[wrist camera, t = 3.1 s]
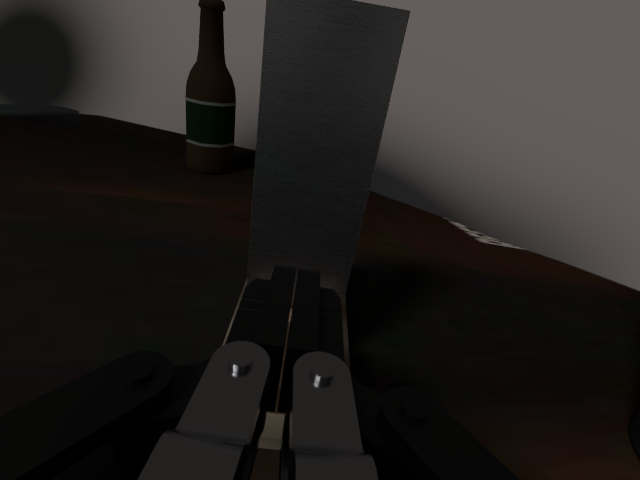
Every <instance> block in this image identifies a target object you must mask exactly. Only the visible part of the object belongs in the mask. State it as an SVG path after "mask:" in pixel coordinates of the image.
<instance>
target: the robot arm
mask: <svg viewBox="0 0 640 480" xmlns="http://www.w3.org/2000/svg"><path fill="white" fill-rule="evenodd" d="M296 269H297V268H290V267H283V266H276V265H275V266H274V269H273V273H272V277H271V280H266V279H259V278H255V279H254V280H253V281H252V282H251V283H249V284H248V285H247V286H246V287H245V290H244V293H243V296H242V300H241V301H240V304H239V308H238V310H237V312H236V315H235V318H234V321H233V323H232V326H231V329H230V332H229V335H228V337H227V340H226V343H225V345H223V346H221V347H220V348H219V349H217V350H216V352H215V353H214V354H213V356H212V357H211V358H210V359H209V360H206V361H204V362H201V363H197V364H192V365H184V366H176V367H173V365H172V363H171V361H170V360H169V359H168V358H167V357H166V356H165V355H163V354H161V353H158V352H153V351H139V352H134V353H131V354H128V355H125V356H123V357H121V358H119V359H117V360H115V361H113V362H110V363H108V364H106V365H104V366H102V367H100V368H98V369H96V370H94V371H92V372H90V373H88V374H86V375H84V376H82V377H80V378H78V379H76V380H74V381H72V382H69V383H67V384H65V385H63V386H61V387H59V388H57V389H55V390H53V391H51V392H49V393H47V394H45V395H43V396H41V397H39V398H37V399H35V400H33V401H31V402H28V403H26V404H24V405H22V406H20V407H18V408H16V409H14V410H12V411H10V412H8V413H6V414H4V415H2V416H0V480H250V477H251V473H252V469H253V465H254V461H255V458H256V454H257V450H258V446H259V442H260V437H261V435H262V432H263V430H264V427H265V421H266V415H267V411H271V412H275V407H276V400H277V394H278V387H279V381H280V374H281V368H282V362H283V355H284V349H285V342H286V335H287V329H288V322H289V316H290V309H291V302H292V296H293V289H294V283H295V276H296ZM277 412H280V413H285V416H284V424H283V431H282V437H281V443H280V463H279V480H519V479H518V478H517V477H516V476H515V475H514V474H513V473H511V472H510V471H509V470H508V469H507V468H506V467H505V466H504V465H503V464H502V463H501V462H500V461H499V460H498V459H496V458H495V457H494V456H493V455H492V454H491V453H490V452H489V451H488V450H487V449H486V448H485V447H484V446H482V445H481V444H480V443H479V442H478V441H477V440H476V439H475V438H474V437H473V436H472V435H471V434H470V433H469V432H467V431H466V430H465V429H464V428H463V427H462V426H461V425H460V424H459V423H458V422H457V421H456V420H455V419H453V418H452V417H451V416H450V415H449V414H448V413H447V412H446V411H445V410H444V409H443V408H442V407H441V406H440V405H438V404H437V403H436V402H435V401H434V400H433V399H432V398H431V397H430V396H428V395H427V394H426V393H424V392H422V391H420V390H418V389H416V388H413V387H408V386H398V387H394V388H392V389H390V390H389V391H388V392H387V393H386V394H383V393H380V392H378V391H376V390H373V389H371V388H369V387H367V386H365V385H363V384H361V383H360V382H358V381H357V380H356V379H355V378H354V377H353V376H352V375H351V374H350V371H349V369H348V367H347V366H346V364H345V360H344V343H343V324H342V305H341V299H340V297H339V296H338V294H337V293H336V291H335V290H334V289H328V288H321V287H320V272H317V271H311V270H304V269H298V276H297V282H296V288H295V295H294V301H293V307H292V314H291V320H290V327H289V334H288V341H287V348H286V355H285V362H284V369H283V375H282V382H281V389H280V396H279V403H278V410H277ZM629 429H630V436H631V439H632V442H633V444H634V447H635V449H636V451H637V453H638V454H639V456H640V410H639V412H638V413H637V414H636V415H635V416H634V417H633V419H632V420H631V423H630V427H629Z"/></svg>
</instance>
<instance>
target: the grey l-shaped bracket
mask: <svg viewBox="0 0 640 480" xmlns="http://www.w3.org/2000/svg"><path fill="white" fill-rule="evenodd" d="M409 14H410V11H408V10H402V9H397V8H390V7H386V6H380V5H374V4H369V3H364V2H358V1H352V0H267V2H266V15H265V30H264V44H263V58H262V72H261V87H260V101H259V115H258V117H259V118H258V130H257V144H256V158H255V173H254V187H253V202H252V216H251V230H250V245H249V259H248V273H247V285H248V284H249V283H251V282H252V281H253V280H254V279H255V278H259V279H266V280H271V277H272V273H273V269H274V266H275V265H276V266H283V267H290V268H297V269H296V276H295V283H294V289H293V296H292V302H291V306H293V301H294V295H295V288H296V282H297V276H298V269H304V270H311V271H317V272H320V287H321V288H328V289H334V290H335V291H336V293H337V294H338V296H339V297H340V299H341V300H344V299H345V294H346V290H347V285H348V281H349V277H350V272H351V268H352V264H353V259H354V255H355V250H356V246H357V242H358V237H359V233H360V229H361V224H362V220H363V215H364V211H365V207H366V202H367V198H368V194H369V189H370V184H371V180H372V176H373V171H374V167H375V163H376V159H377V154H378V150H379V145H380V141H381V137H382V132H383V128H384V123H385V119H386V115H387V110H388V106H389V102H390V97H391V93H392V88H393V84H394V80H395V75H396V71H397V67H398V62H399V58H400V54H401V49H402V45H403V41H404V35H405V32H406V27H407V23H408V19H409Z"/></svg>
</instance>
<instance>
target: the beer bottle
mask: <svg viewBox="0 0 640 480" xmlns="http://www.w3.org/2000/svg"><path fill="white" fill-rule="evenodd" d="M198 5H199V6H200V8H201V13H200V34H199V50H198V56H197V61H196V63H195V64H194V66H193V67H192V69H191V71H190V73H189V77H188V80H187V84H186V136H187V164H188V168H189V169H190V170H192V171H195V172H198V173H201V174H214V175H221V174H224V173H228V172H231V171H232V168H233V156H234V129H235V107H236V102H235V101H236V97H235V87H234V84H233V80H232V77H231V75H230V73H229V71H228V69H227V67H226V64H225V56H224V30H223V11H224V10H225V5H224V2H223V1H222V0H199V4H198Z"/></svg>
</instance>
